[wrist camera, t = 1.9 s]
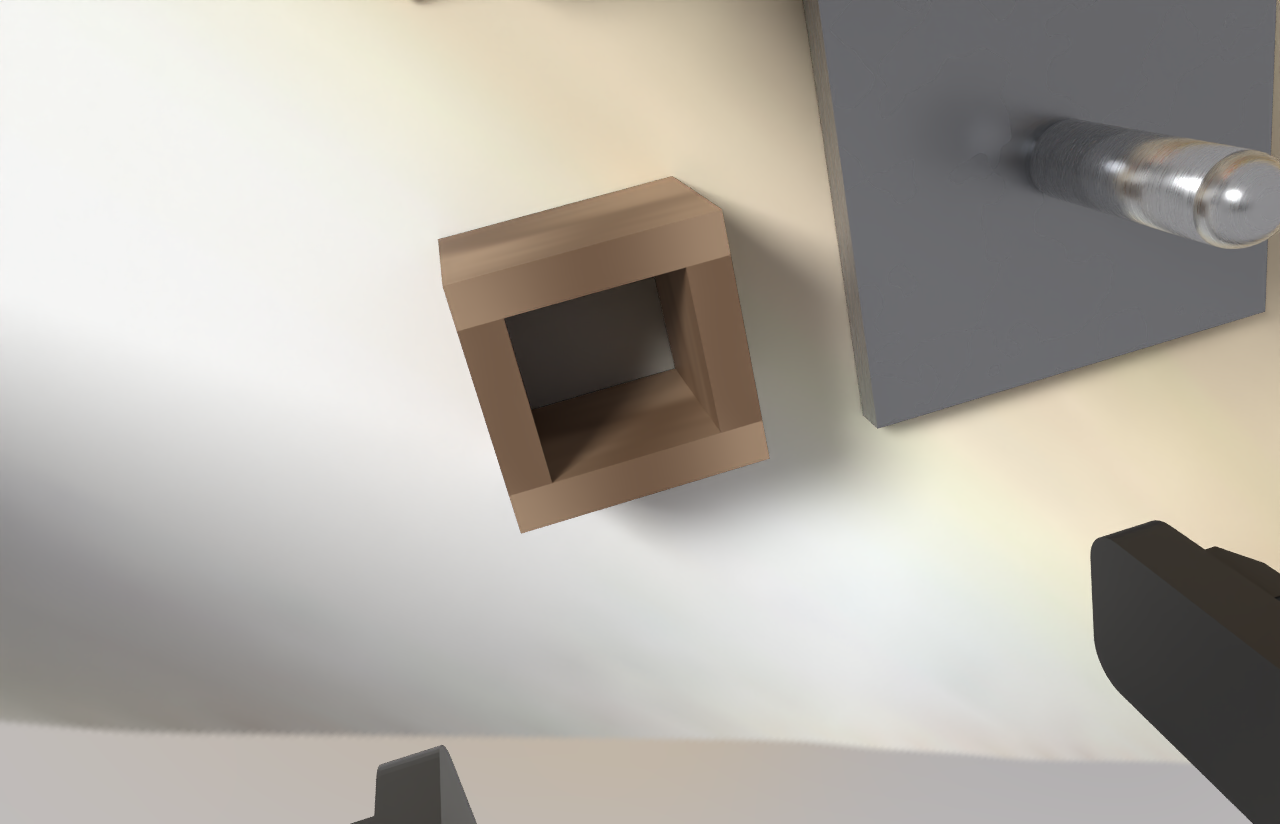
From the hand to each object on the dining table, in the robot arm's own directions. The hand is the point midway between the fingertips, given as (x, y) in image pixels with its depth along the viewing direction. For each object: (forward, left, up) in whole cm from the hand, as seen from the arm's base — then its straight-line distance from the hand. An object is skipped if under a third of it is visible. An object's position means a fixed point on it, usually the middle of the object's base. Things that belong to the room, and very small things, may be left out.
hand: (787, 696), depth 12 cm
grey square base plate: (+13, +1, -16) cm, 20 cm away
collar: (0, 0, -16) cm, 16 cm away
